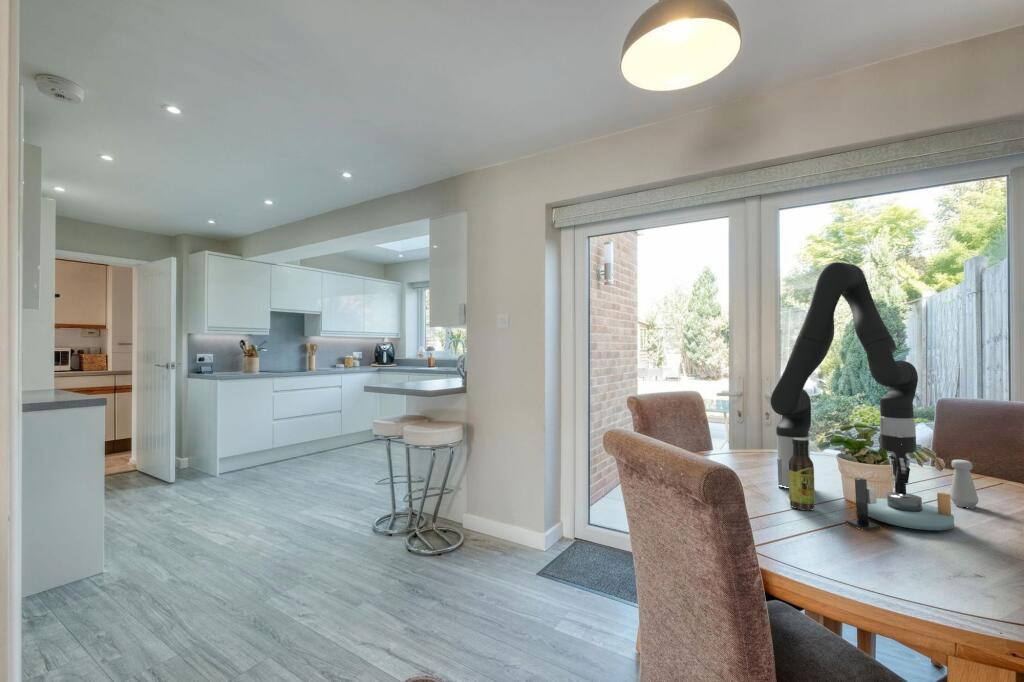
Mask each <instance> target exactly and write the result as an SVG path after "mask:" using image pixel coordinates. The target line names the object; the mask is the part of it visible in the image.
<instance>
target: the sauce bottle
mask: <svg viewBox="0 0 1024 682" xmlns="http://www.w3.org/2000/svg"><path fill="white" fill-rule="evenodd" d="M792 443H793V456H792V457H791V459H790V460H789V489H788V495H789V496H788V497H789V498H788V499H789V505H791V506H793V507H792V508H794V507H796V508H799V509H798V510H801V509H804V510H803V511H813V510H815V508H816V507H815V502H816V494H815V492H816V491H815V466H814V462H813V461H812V459H811V457H810V458H809V456H808V454H809V453H808V445H809V446H810V439H809V440H808V439H804V438H793V439H792ZM791 506H790V507H791ZM796 508H795V509H796ZM812 509H813V510H812Z"/></svg>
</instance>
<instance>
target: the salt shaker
mask: <svg viewBox="0 0 1024 682" xmlns="http://www.w3.org/2000/svg"><path fill="white" fill-rule="evenodd" d="M951 467H952V468H953V469H954V470H953V476H952V481H951V487H950V493H949V494H950V501H952V503H953V504H955V505H954V506H955V507H957V506H960V507H959V508H961V507H968V508H967V509H969V508H973V509H975V507H976V506H977V505H978V503H979V497H978V493H977V490H976V486H975V483H974V481H973V480H974V479H973V476H972V474H971V470H973V467H974V466H973V463H972V462H971V461H969V460H966V459H953V460H951Z"/></svg>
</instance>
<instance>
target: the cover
mask: <svg viewBox="0 0 1024 682" xmlns="http://www.w3.org/2000/svg"><path fill="white" fill-rule="evenodd" d="M886 499H887V505H888V506H889V507H891V508H893V509H896V510H901V511H907V512H921V511H922V503H923V500H922V499H923V498H922V497H921V496H918V495H916V494H911V493H908V492H906V493H900V492H895V491H890V492H887V493H886Z"/></svg>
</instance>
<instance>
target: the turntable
mask: <svg viewBox="0 0 1024 682" xmlns="http://www.w3.org/2000/svg"><path fill="white" fill-rule="evenodd" d="M936 494H937V495H936V497H937V506H935V505H934V506H933V505H930V504H928V503H927V504H926V503H923V502H922V511H921V512H907V511H901V510H896V509H893V508H891V507H889V506H888V505H887V498H880V497H879V498H878V497H877V498H876V499H877V503H876V504H868V518H869V517H870V518H872V519H874V520H877V521H878V522H882V523H885V524H889V525H893V526H897V527H903V528H908V529H914V530H915V529H916V530H922V531H944V530H945V531H946V530H951V529H953V528H954V527H955V517H954V514H952V506H951V505H952V504H951V498H950V493H945V492H937V493H936Z"/></svg>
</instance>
